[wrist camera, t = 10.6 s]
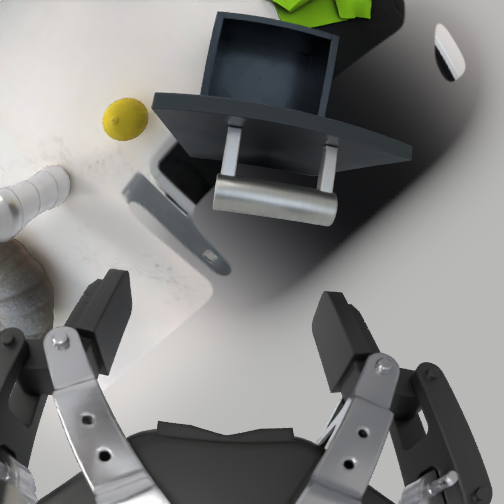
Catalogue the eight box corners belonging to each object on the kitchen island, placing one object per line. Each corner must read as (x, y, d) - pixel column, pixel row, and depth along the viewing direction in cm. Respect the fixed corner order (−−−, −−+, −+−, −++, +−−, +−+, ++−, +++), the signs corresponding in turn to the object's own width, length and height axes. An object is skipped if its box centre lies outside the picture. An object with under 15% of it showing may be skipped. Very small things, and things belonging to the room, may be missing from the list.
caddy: (221, 35, 28) (217, 11, 20) (314, 52, 30) (339, 36, 21) (202, 143, 35) (191, 152, 27) (294, 157, 37) (313, 171, 28)
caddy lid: (154, 92, 10) (135, 203, 11) (412, 146, 12) (400, 241, 13) (191, 149, 26) (184, 198, 27) (314, 168, 28) (307, 216, 29)
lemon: (162, 120, 34) (145, 122, 26) (132, 145, 35) (109, 154, 28) (140, 91, 31) (118, 87, 24) (111, 116, 32) (84, 119, 25)
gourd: (61, 352, 49) (21, 400, 33) (-7, 292, 46) (-51, 323, 29) (80, 263, 42) (16, 308, 26) (1, 201, 39) (-60, 220, 23)
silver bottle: (39, 188, 36) (-43, 241, 18) (54, 154, 34) (-37, 194, 16) (65, 209, 38) (-12, 274, 20) (81, 175, 36) (-5, 228, 18)
